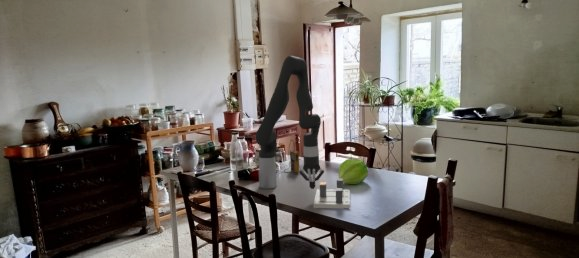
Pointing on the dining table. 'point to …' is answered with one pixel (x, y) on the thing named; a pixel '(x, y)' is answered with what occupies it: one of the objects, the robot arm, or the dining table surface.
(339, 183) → the block
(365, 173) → the lettuce
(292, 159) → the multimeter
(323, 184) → the block
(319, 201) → the breaker panel
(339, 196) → the block
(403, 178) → the dining table surface
